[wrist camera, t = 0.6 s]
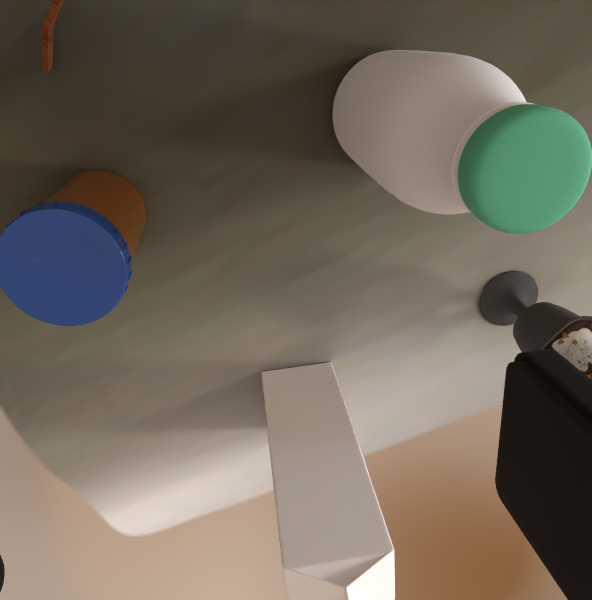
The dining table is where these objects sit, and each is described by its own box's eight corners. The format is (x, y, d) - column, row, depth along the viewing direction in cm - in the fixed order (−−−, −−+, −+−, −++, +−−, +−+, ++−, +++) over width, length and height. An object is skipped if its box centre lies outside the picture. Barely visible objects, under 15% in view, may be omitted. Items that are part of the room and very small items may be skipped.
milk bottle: (318, 156, 38) (403, 259, 20) (346, 37, 35) (473, 32, 17) (421, 177, 40) (583, 289, 22) (455, 64, 37) (678, 85, 19)
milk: (331, 360, 46) (417, 603, 26) (335, 419, 48) (416, 680, 28) (259, 371, 45) (289, 626, 25) (267, 429, 48) (300, 702, 28)
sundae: (563, 286, 45) (708, 391, 32) (507, 346, 47) (620, 469, 33) (510, 244, 43) (641, 338, 29) (453, 309, 45) (551, 424, 31)
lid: (38, 174, 28) (29, 181, 26) (155, 244, 30) (151, 254, 29) (-19, 275, 30) (-30, 286, 28) (95, 334, 32) (89, 347, 30)
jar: (83, 151, 36) (35, 188, 27) (163, 202, 38) (143, 252, 29) (42, 223, 38) (-17, 281, 29) (120, 268, 40) (89, 335, 31)
